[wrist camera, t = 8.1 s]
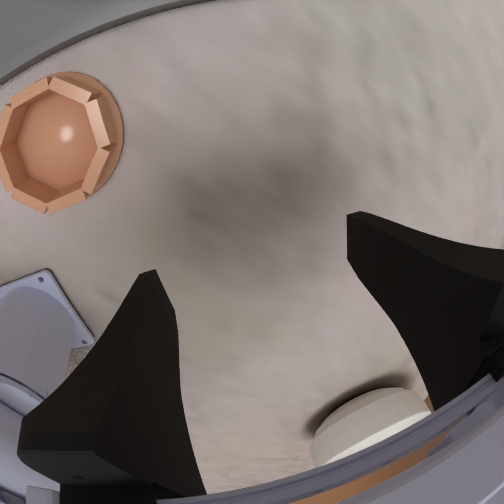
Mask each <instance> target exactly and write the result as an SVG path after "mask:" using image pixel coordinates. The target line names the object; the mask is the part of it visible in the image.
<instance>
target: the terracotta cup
mask: <svg viewBox="0 0 504 504" xmlns="http://www.w3.org/2000/svg"><path fill="white" fill-rule="evenodd" d="M123 134H124V130H123V121H122V116H121V112H120V110H119V107H118V104H117V102H116V101H115V99H114V97H113V96H112V94H111V93H110V91H109V90H108V89H107V88H106V87H105V86H104V85H103V84H101V83H100V82H99V81H97V80H96V79H94V78H92V77H90V76H88V75H85V74H81V73H75V72H62V73H56V74H52V75H49V76H47V77H44V78H42V79H40V80H39V81H37V82H36V83H34V84H33V85H31V86H29V87H28V88H26V89H24V90H23V91H21V92H19V93H18V94H16V95H15V96H13V97H12V98H10V104H6V105H5V106H4V109H3V112H2V115H1V118H0V178H1V180H2V183H3V185H4V188H5V190H6V193H7V192H9V191H11V190H12V195H11V198H12V199H14V200H16V201H18V202H20V203H22V204H24V205H27V206H29V207H31V208H33V209H35V210H37V211H39V212H41V213H43V214H45V213H46V211H47V210H49V213H50V214H52V213H55V212H57V211H59V210H62V209H64V208H66V207H69V206H71V205H74V204H76V203H79V202H81V201H84V200H86V199H87V198H88V197H89V196H91V195H92V194H94V193H95V192H96V191H97V190H99V189H100V188H101V187H102V186H103V185H104V183H105V182H106V181H107V180H108V178H109V177H110V175H111V174H112V173H113V171H114V169H115V167H116V165H117V163H118V160H119V158H120V154H121V151H122V145H123Z"/></svg>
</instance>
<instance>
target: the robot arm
mask: <svg viewBox="0 0 504 504" xmlns="http://www.w3.org/2000/svg"><path fill="white" fill-rule="evenodd" d="M347 259H348V261H349V263H350V265H351V266H352V268H353V270H354V271H355V273H356V275H357V276H358V278H359V279H360V281H361V282H362V283H363V285H364V286H365V287H366V288H367V290H368V291H369V292H370V293H371V295H372V296H373V297H374V298H375V300H376V301H377V302H378V304H379V305H380V306H381V307H382V309H383V310H384V311H385V312H386V314H387V315H388V316H389V318H390V319H391V320H392V322H393V323H394V325H395V326H396V328H397V330H398V331H399V333H400V335H401V337H402V338H403V340H404V342H405V344H406V345H407V347H408V349H409V351H410V353H411V355H412V357H413V359H414V361H415V363H416V365H417V367H418V370H419V372H420V374H421V377H422V379H423V381H424V383H425V386H426V389H427V391H428V394H429V397H430V400H431V402H432V405H433V408H434V412H433V413H431V414H430V415H428V416H426V417H425V418H423V419H421V420H420V421H418V422H416V423H414V424H413V425H411V426H409V427H407V428H405V429H403V430H402V431H400V432H398V433H396V434H394V435H392V436H390V437H388V438H386V439H384V440H382V441H380V442H378V443H376V444H374V445H371V446H369V447H367V448H365V449H363V450H360V451H358V452H356V453H353V454H351V455H349V456H346V457H344V458H341V459H339V460H336V461H334V462H331V463H328V464H326V465H323V466H320V467H317V468H314V469H311V470H308V471H305V472H302V473H299V474H296V475H293V476H289V477H286V478H283V479H279V480H275V481H272V482H268V483H264V484H260V485H256V486H251V487H247V488H242V489H237V490H232V491H227V492H221V493H215V494H208V495H207V493H206V490H205V488H204V485H203V482H202V479H201V476H200V473H199V470H198V466H197V463H196V459H195V456H194V452H193V449H192V445H191V441H190V437H189V432H188V428H187V423H186V419H185V414H184V408H183V403H182V397H181V388H180V369H179V340H178V329H177V322H176V316H175V310H174V308H173V306H172V304H171V302H170V300H169V298H168V296H167V293H166V291H165V289H164V287H163V285H162V283H161V281H160V278H159V276H158V274H157V272H156V269H154V270H151V271H148V272H144V273H141V274H139V276H138V277H137V279H136V280H135V282H134V284H133V285H132V287H131V289H130V290H129V292H128V294H127V296H126V297H125V299H124V301H123V302H122V304H121V306H120V307H119V309H118V311H117V312H116V314H115V316H114V317H113V319H112V320H111V322H110V323H109V325H108V326H107V328H106V329H105V331H104V333H103V334H102V336H101V337H100V338H99V340H98V341H97V343H96V344H95V345H94V347H93V348H92V349H91V350H90V352H89V353H88V354H87V356H86V357H85V358H84V359H83V360H82V362H81V363H80V364H79V365H78V366H77V367H76V368H75V370H74V371H73V372H72V373H71V374H70V375H69V376H68V378H67V379H66V380H65V376H66V371H67V366H68V362H69V357H70V353H71V349H74V348H79V347H83V346H88V345H92V344H94V341H95V338H94V337H93V335H92V334H91V333H90V331H89V330H88V328H87V327H86V326H85V324H84V323H83V321H82V320H81V319H80V317H79V316H78V314H77V313H76V311H75V310H74V308H73V307H72V305H71V304H70V302H69V301H68V299H67V298H66V296H65V295H64V293H63V291H62V290H61V288H60V287H59V285H58V283H57V282H56V280H55V278H54V277H53V275H52V273H51V272H50V271H48V270H42V271H40V272H37V273H34V274H32V275H29V276H26V277H24V278H21V279H18V280H16V281H13V282H11V283H8V284H5V285H3V286H0V504H287V503H291V502H294V501H298V500H301V499H304V498H307V497H311V496H314V495H317V494H320V493H322V492H325V491H328V490H331V489H334V488H336V487H339V486H341V485H344V484H347V483H349V482H351V481H354V480H356V479H358V478H361V477H363V476H365V475H368V474H370V473H372V472H374V471H376V470H378V469H380V468H383V467H385V466H387V465H389V464H390V463H392V462H394V461H396V460H398V459H400V458H402V457H404V456H406V455H408V454H409V453H411V452H413V451H415V450H416V449H418V448H420V447H422V446H423V445H425V444H427V443H428V442H430V441H431V440H433V439H435V438H436V437H438V436H439V435H441V434H442V433H444V432H445V431H447V430H448V429H450V428H451V427H453V426H454V425H456V424H457V423H459V422H460V421H461V420H463V419H464V418H466V417H467V418H466V419H465V420H463V421H462V422H461V423H460V424H458V425H457V426H456V427H455V428H453V429H452V430H451V431H450V432H449V433H448V434H447V436H446V437H445V438H444V439H443V440H442V441H441V442H440V443H439V444H438V445H437V446H436V447H435V448H433V449H432V450H431V451H430V452H429V453H428V457H429V458H427V459H425V460H424V461H422V462H420V463H418V464H417V465H415V466H413V467H411V468H409V469H408V470H406V471H404V472H402V473H400V474H398V475H396V476H395V477H393V478H391V479H389V480H387V481H385V482H383V483H380V484H379V485H377V486H374V487H372V488H370V489H368V490H366V491H363V492H361V493H359V494H357V495H354V496H352V497H350V498H347V499H345V500H342V501H340V502H337V503H335V504H504V250H502V249H492V248H485V247H479V246H474V245H468V244H463V243H459V242H455V241H451V240H447V239H443V238H439V237H436V236H433V235H430V234H427V233H424V232H421V231H418V230H415V229H412V228H409V227H406V226H404V225H401V224H398V223H395V222H393V221H390V220H387V219H385V218H382V217H379V216H376V215H373V214H370V213H366V212H362V211H359V212H355V213H351V214H348V215H347ZM40 277H42V278H43V279H41V278H40ZM84 340H85V341H84Z"/></svg>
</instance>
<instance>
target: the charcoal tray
mask: <svg viewBox="0 0 504 504" xmlns="http://www.w3.org/2000/svg"><path fill="white" fill-rule="evenodd" d="M207 1H213V0H0V86H1V85H2V84H3V83H5V82H6V81H8V80H9V79H11V78H13V77H14V76H16V75H17V74H19V73H20V72H22V71H24V70H25V69H27V68H29V67H30V66H32V65H34V64H36V63H37V62H39V61H41V60H43V59H44V58H46V57H48V56H50V55H52V54H54V53H56V52H58V51H60V50H62V49H64V48H66V47H68V46H70V45H72V44H74V43H76V42H79V41H81V40H83V39H85V38H88V37H90V36H92V35H95V34H97V33H100V32H102V31H105V30H107V29H110V28H112V27H115V26H118V25H121V24H123V23H126V22H129V21H132V20H135V19H138V18H142V17H145V16H148V15H152V14H155V13H159V12H162V11H166V10H170V9H174V8H178V7H183V6H187V5H192V4H197V3H202V2H207Z"/></svg>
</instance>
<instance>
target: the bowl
mask: <svg viewBox="0 0 504 504" xmlns="http://www.w3.org/2000/svg"><path fill="white" fill-rule="evenodd" d="M430 414H431V412H430V410H429V409H428V407H427V405H426V404H425V402H424V401H423V400H422V399H421V397H420V396H419V395H418V393H417V392H416V391H414V390H406V389H404V388H400V387H396V388H381V389H376V390H373V391H370V392H367V393H365V394H362V395H360V396H358V397H356V398H354V399H352V400H350V401H349V402H347V403H345V404H344V405H342V406H340V407H339V408H338V409H336V410H335V411H334V412H332V413H331V414H330V415H329V416H328V417H327V418H326V419H325V420H324V422H323V423H322V424H321V426H320V427H319V428H318V430H317V431H316V433H315V435H314V440H313V442H312V443H311V445H310V448H309V450H310V453H311V457H312V460H313V463H314V466H315V468H317V467H320V466H323V465H326V464H328V463H331V462H334V461H336V460H339V459H341V458H344V457H346V456H349V455H351V454H353V453H356V452H358V451H360V450H363V449H365V448H367V447H369V446H371V445H374V444H376V443H378V442H380V441H382V440H384V439H386V438H388V437H390V436H392V435H394V434H396V433H398V432H400V431H402V430H403V429H405V428H407V427H409V426H411V425H413V424H414V423H416V422H418V421H420V420H421V419H423V418H425V417H426V416H428V415H430Z"/></svg>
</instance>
